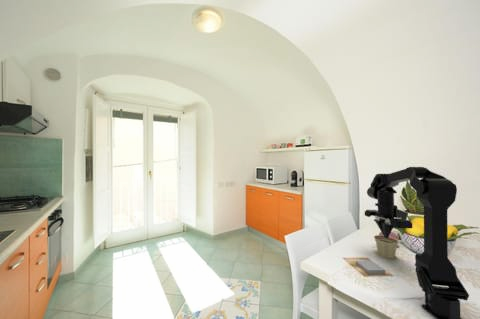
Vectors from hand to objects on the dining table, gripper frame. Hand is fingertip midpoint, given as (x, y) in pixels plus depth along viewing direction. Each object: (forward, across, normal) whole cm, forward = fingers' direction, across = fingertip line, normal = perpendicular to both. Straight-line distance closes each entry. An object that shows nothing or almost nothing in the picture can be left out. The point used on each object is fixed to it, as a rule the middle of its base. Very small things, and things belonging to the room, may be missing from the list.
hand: (386, 237), depth 80 cm
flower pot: (+12, +7, -6) cm, 15 cm away
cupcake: (+12, +20, -19) cm, 30 cm away
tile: (+10, -1, +11) cm, 15 cm away
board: (+12, -2, +11) cm, 16 cm away
